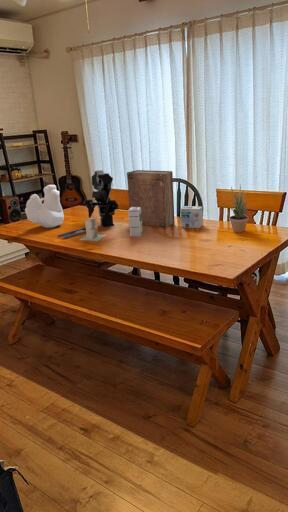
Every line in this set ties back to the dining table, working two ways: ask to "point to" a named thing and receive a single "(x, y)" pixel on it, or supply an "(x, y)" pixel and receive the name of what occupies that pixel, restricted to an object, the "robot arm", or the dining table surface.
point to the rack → (72, 233)
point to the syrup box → (135, 221)
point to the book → (152, 196)
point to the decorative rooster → (45, 208)
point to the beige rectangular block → (91, 228)
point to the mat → (93, 238)
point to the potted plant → (239, 213)
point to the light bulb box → (191, 216)
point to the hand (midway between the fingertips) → (96, 217)
